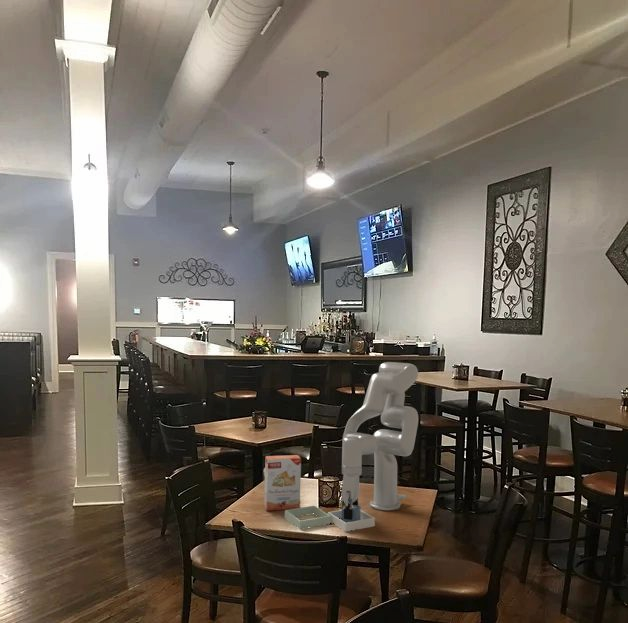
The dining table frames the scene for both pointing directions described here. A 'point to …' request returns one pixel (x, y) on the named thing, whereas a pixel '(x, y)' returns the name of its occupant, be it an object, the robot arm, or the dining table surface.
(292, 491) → the cracker box
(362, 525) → the white square tray
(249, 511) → the dining table surface
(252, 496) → the dining table surface
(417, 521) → the dining table surface
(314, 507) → the sage square tray
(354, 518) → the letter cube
